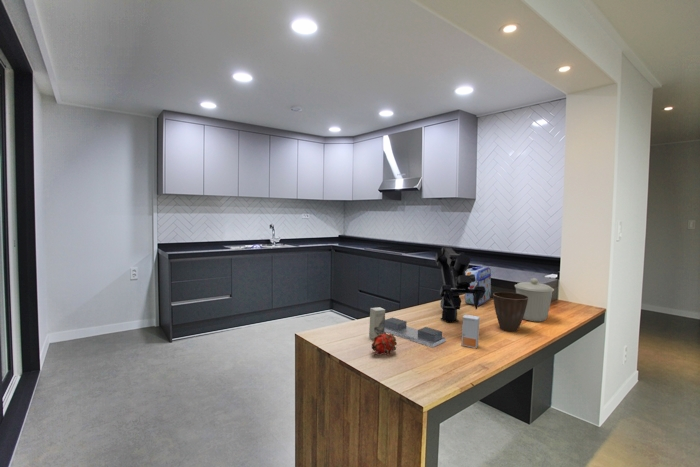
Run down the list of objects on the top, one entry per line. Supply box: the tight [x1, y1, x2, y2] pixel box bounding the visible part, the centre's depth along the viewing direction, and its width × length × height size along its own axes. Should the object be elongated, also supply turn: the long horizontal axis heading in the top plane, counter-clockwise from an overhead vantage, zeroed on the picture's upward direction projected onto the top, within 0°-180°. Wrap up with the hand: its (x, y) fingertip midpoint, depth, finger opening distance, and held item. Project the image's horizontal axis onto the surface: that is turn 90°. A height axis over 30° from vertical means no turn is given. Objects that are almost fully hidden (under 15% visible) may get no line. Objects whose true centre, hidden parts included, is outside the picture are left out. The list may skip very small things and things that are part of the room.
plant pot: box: [492, 291, 528, 333], centre depth 166 cm, size 15×15×16 cm
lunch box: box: [464, 266, 492, 306], centre depth 215 cm, size 28×10×22 cm, turn 145°
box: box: [368, 307, 386, 341], centre depth 150 cm, size 5×4×13 cm
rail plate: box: [384, 317, 447, 348], centre depth 155 cm, size 10×27×4 cm, turn 45°
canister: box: [514, 277, 555, 322], centre depth 183 cm, size 18×18×21 cm
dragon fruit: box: [370, 332, 398, 356], centre depth 135 cm, size 8×8×12 cm
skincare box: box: [461, 314, 480, 349], centre depth 145 cm, size 6×4×12 cm
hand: (465, 308), depth 152 cm, fingers open, 9 cm apart
